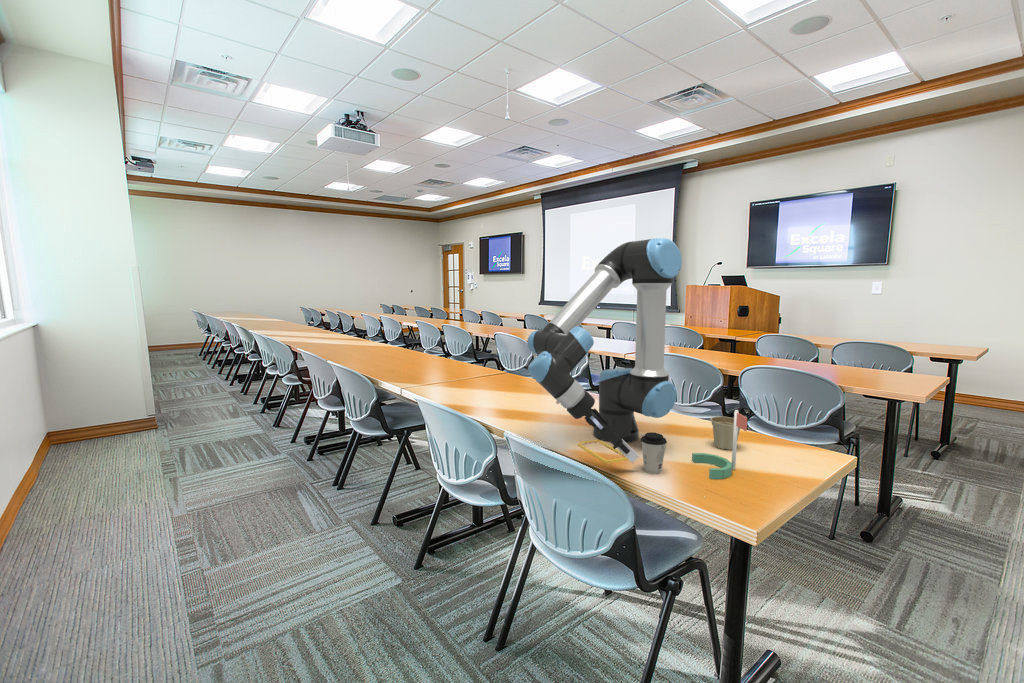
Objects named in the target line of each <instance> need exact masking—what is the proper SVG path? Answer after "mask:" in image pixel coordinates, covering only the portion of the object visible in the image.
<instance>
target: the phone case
mask: <svg viewBox="0 0 1024 683" xmlns="http://www.w3.org/2000/svg"><path fill="white" fill-rule="evenodd" d="M593 442H595V443H598V442H599V444H601V445H603V446H604V445H605V446H604V447H606V446H607V447H606V448H608V447H609V448H608V449H610V450H611V451H613V450H614V451H613V452H615V451H616V453H617V454H619V455H620V454H621V456H622V455H623V454H622V453H621V452H620V451H619V450H618V449H617V448H616V449H614V448H613V446H611V445H610V444H607V443H606V442H604V441H603V440H601V439H593V440H586V441H581V442H580V441H579V442H577V446H578V447H579V448H580V447H581V448H580V449H582V450H584V451H585V452H587V453H588V452H589V453H588V454H590V455H591V456H593V457H595V458H596V459H598V460H599V461H601V462H603V463H605V464H614V462H615V463H619V461H621V462H625V461H624V460H627V461H629V460H628V459H627V458H626V457H625V456H624V455H623V457H620V458H615V459H613V458H612V459H605V458H604V457H602V456H601V455H599V454H598V453H595V452H594V451H593V450H591V449H589V448H587V447H586V446H584V445H586V444H587V443H593ZM582 444H584V445H582Z"/></svg>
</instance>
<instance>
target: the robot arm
mask: <svg viewBox="0 0 1024 683" xmlns="http://www.w3.org/2000/svg"><path fill="white" fill-rule="evenodd" d="M682 263H683V260H682V253H681V251H680V248H679V247H678V246H677V245H676V243H675V241H673V240H671V239H669V238H665V237H664V238H663V237H661V238H657V237H656V238H650V239H642V240H632V241H627V242H624V243H622V244H620V245H619V246H616V247H615V248H614V249H613V250H611V251H610V252H609V253H608V254H607V255H606V256H605V257H604V258H603V259H601V261H599V263H597V265H596V266H595V267H594V273H593V274H592V275H591V276H590V277H589V278H588V279H587V281H586V282H585V283H584V284H583V285H581V287H580V288H579V289H577V291H576V292H575V293H574V295H573V296H571V298H570V299H569V300H568V301H567V302H566V304H564V305H563V307H562V308H560V310H559V311H558V312H557V313H556V314H555V315H554V316H553V317H552V319H550V321H549V322H548V323H547V324H546V325H545V326H544V327H543V328H542V329H538V330H534V331H532V332H531V333H530V334H529V335H528V338H527V341H526V342H527V348H528V350H529V351H530V353H532V354H534V355H537V356H536V357H535V358H533V360H531V362H530V364H528V368H527V370H528V373H529V374H530V376H532V378H533V379H534V380H535V381H536V382H537V384H539V385H540V386H541V387H542V388H543V389H544V390H545V391H547V393H548V394H550V395H551V396H552V397H553V399H555V400H556V401H555V404H556V405H559V404H560V405H561V406H562V407H563V408H564V409H566V412H567V413H569V415H570V416H572V418H574V419H575V420H579V419H582V418H583V417H584V419H585V422H586V423H587V424H588V425H589V426H592V427H593V430H592V431H593V434H592V435H593V436H594V437H595V438H597V439H598V440H600V441H605V442H609V443H610V444H612V447H613V448H614V449H617V450H618V451H620V452H621V455H622V454H623V455H624V456H623V457H624V458H625V457H626V458H627V459H628V460H627V461H629V462H630V463H631V464H634V462H636V461H637V460H638V459H639V458H640V455H639V454H638V453H637V452H636V451H635V450H634V449H633V448H632V447H631V446H630V445H629V444H628V443H630V442H634V441H636V440H638V439H639V435H640V434H639V432H640V431H639V427H638V424H637V421H636V417H635V413H637V414H641V415H643V416H645V417H649V418H654V419H659V418H663V417H665V416H666V415H668V414H669V413H670V411H671V410H672V409H673V407H674V406H675V403H676V400H677V388H676V386H675V385H674V384H673V382H671V381H669V380H670V379H669V378H670V376H669V375H670V373H669V372H668V371H667V370H666V368H665V349H666V348H665V347H666V346H665V343H666V319H667V318H666V316H667V314H666V312H667V293H668V291H667V290H668V289H669V288H670V287H671V286H672V285H673V278H674V277H676V276H678V275H679V273H680V272H679V271H681V270H682ZM629 280H631V281H632V284H631V285H632V286H633V287H634V288H635V289H636V317H635V318H636V320H635V322H636V323H635V356H634V358H635V359H634V367H633V368H631V367H629V368H628V367H627V368H626V367H623V368H622V367H620V368H619V367H618V368H609V369H603V370H602V371H601V372H600V373H599V381H598V410H597V408H595V407H594V406H595V402H596V399H595V398H594V397H593V396H592V395H591V394H590V393H589V392H588V391H587V390H585V388H584V386H583V385H581V384H580V382H579V381H578V380H576V379H575V378H574V377H573V376H572V374H571V373H572V372H573V370H574V369H575V368H576V366H578V365H579V363H580V362H581V361H582V359H584V358H585V357H586V355H587V354H588V353H589V351H590V350H591V349H592V348H593V346H594V344H595V343H594V342H595V340H594V338H593V336H592V335H591V333H590V332H588V330H586V329H584V328H583V327H581V326H580V325H581V324H582V323H583V322H584V321H585V320H586V319H587V317H588V316H589V315H590V314H591V313H592V312H593V311H594V310H595V309H596V307H597V306H598V305H599V304H600V303H601V302H602V301H603V299H605V298H606V296H607V295H608V294H609V293H610V292H611V291H612V290H613V289H617V288H618V287H620V285H621V284H622V283H623V282H625V281H629ZM593 407H594V408H593Z"/></svg>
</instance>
